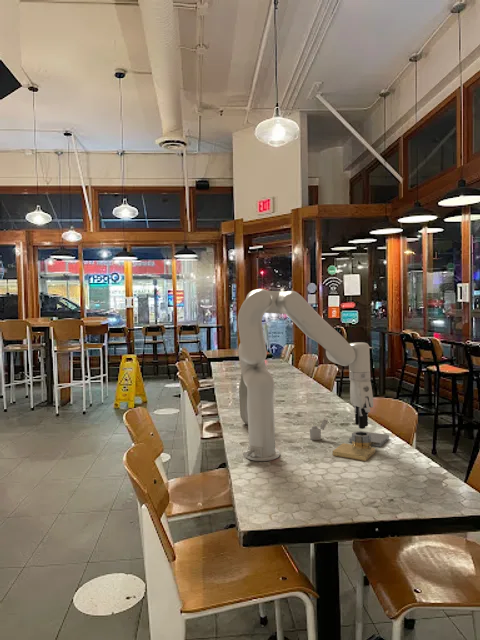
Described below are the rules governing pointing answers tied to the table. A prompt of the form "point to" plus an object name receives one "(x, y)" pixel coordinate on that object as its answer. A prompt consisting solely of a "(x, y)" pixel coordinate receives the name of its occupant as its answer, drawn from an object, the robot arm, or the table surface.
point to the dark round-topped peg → (358, 417)
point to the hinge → (361, 445)
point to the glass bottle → (243, 400)
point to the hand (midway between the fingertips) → (361, 424)
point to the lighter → (317, 431)
